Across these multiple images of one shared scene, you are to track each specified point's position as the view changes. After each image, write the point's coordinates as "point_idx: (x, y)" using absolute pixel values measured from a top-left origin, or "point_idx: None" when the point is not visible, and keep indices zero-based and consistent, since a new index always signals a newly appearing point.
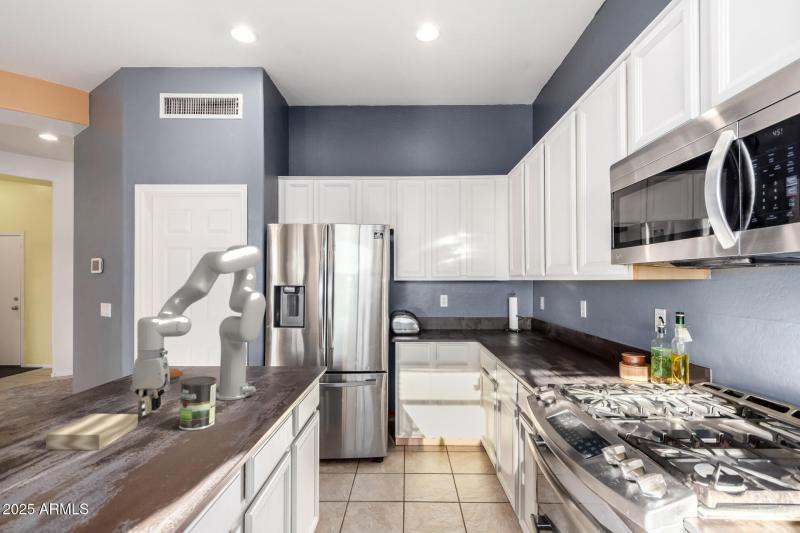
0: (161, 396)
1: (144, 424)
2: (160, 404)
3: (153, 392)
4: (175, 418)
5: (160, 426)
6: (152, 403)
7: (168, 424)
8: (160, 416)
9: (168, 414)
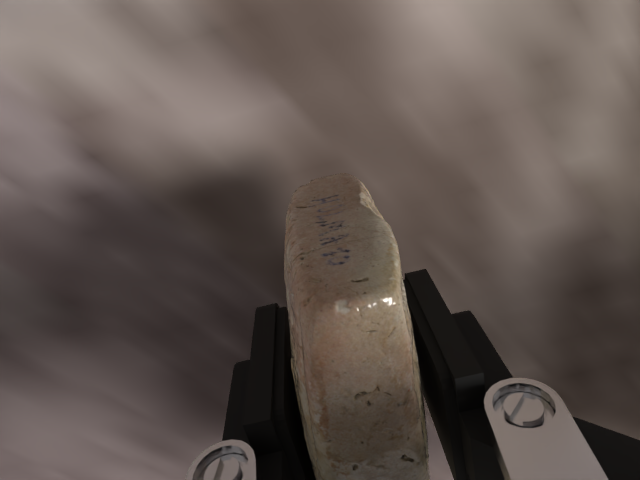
0: (391, 229)
1: (428, 418)
2: (472, 318)
3: (371, 455)
4: (608, 243)
5: (583, 411)
6: (436, 430)
7: (624, 367)
8: (423, 240)
9: (465, 167)
